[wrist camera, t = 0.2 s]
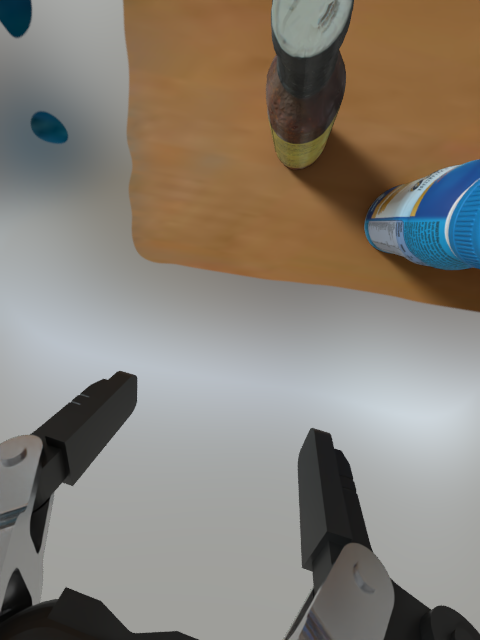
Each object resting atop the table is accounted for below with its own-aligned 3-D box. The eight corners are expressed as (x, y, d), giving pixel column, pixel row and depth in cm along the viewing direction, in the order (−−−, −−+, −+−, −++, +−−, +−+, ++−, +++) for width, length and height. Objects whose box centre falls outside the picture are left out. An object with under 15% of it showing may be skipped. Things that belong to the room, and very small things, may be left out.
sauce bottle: (332, 153, 29) (404, 44, 11) (285, 181, 31) (284, 125, 13) (313, 96, 28) (363, -143, 10) (265, 129, 30) (232, -17, 12)
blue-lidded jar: (355, 250, 33) (437, 285, 15) (371, 182, 30) (503, 119, 12) (420, 255, 32) (596, 299, 14) (444, 184, 28) (722, 118, 10)
